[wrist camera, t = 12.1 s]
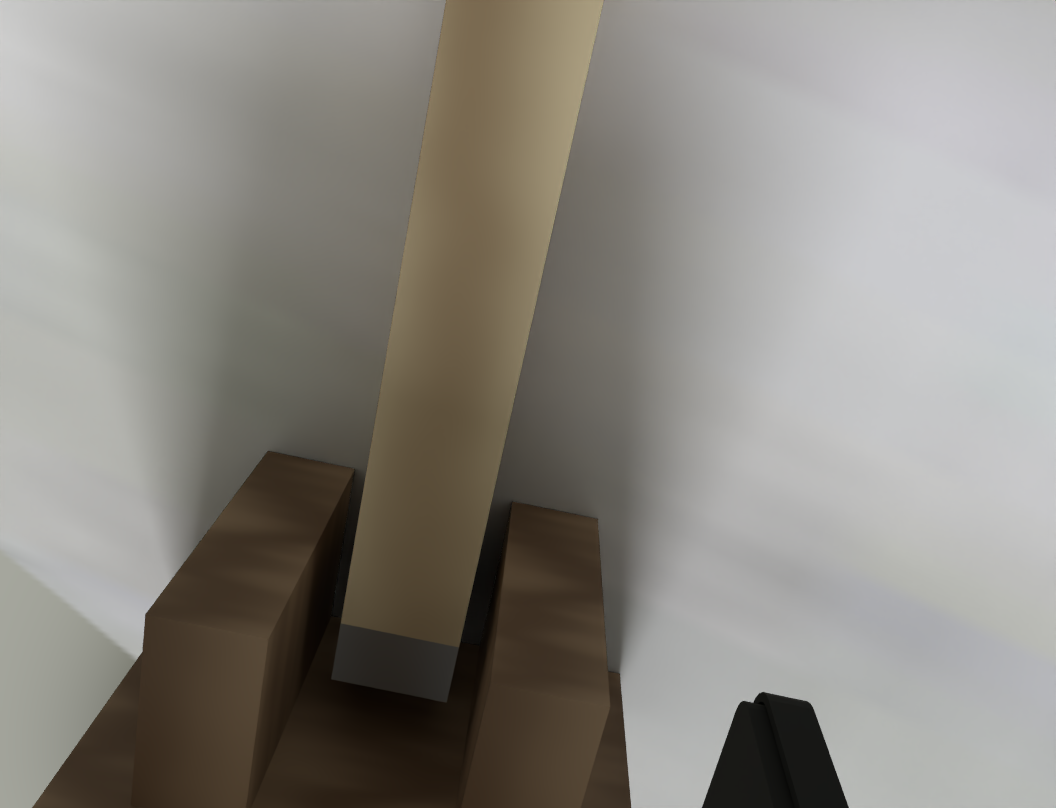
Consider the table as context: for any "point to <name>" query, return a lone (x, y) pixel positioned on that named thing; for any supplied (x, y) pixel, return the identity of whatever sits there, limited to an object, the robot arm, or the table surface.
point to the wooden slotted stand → (344, 708)
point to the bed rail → (460, 329)
